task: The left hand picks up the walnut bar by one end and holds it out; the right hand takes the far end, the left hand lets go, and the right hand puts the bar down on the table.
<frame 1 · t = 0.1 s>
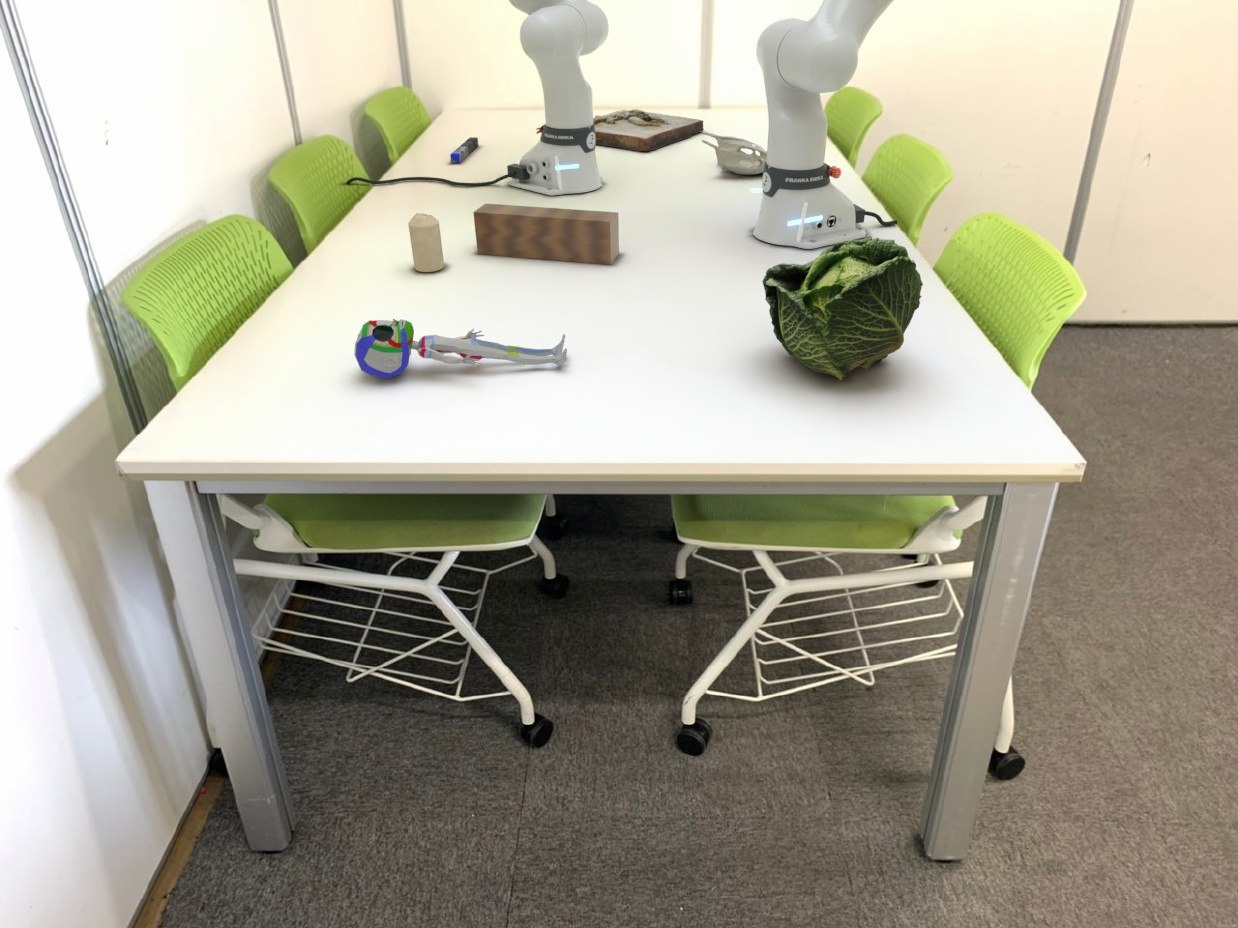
plaque: (633, 136, 259), on the table
candle: (429, 268, 168), on the table
vegetable: (836, 364, 131), on the table
toy: (464, 369, 132), on the table
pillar: (465, 155, 243), on the table
bar: (548, 254, 174), on the table
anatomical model: (751, 172, 223), on the table
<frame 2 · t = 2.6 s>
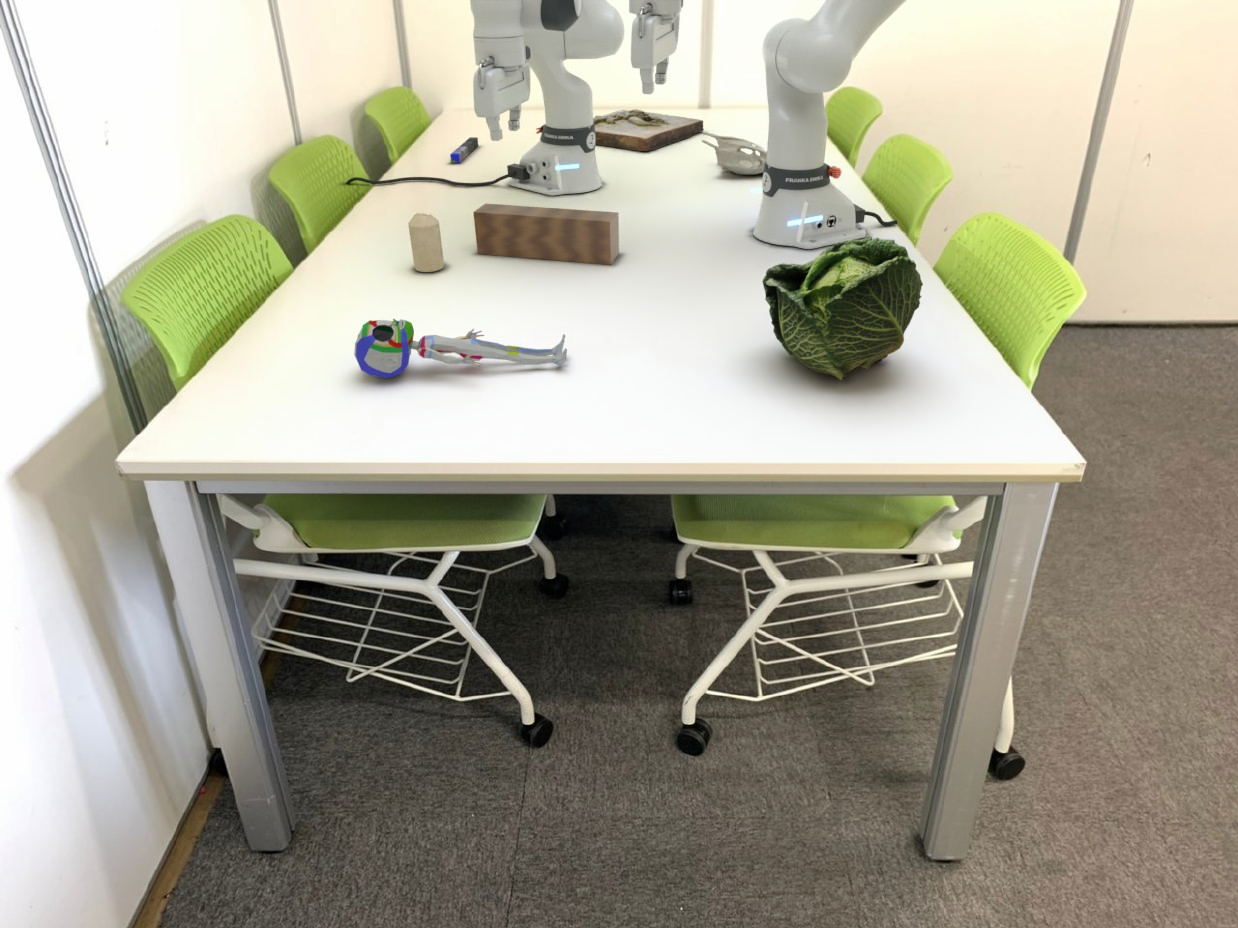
left hand: (505, 135, 166), 21 cm above the table, tool pointing down, fingers open, 8 cm apart
right hand: (654, 88, 158), 30 cm above the table, tool pointing down, fingers open, 8 cm apart
nothing on the table moved.
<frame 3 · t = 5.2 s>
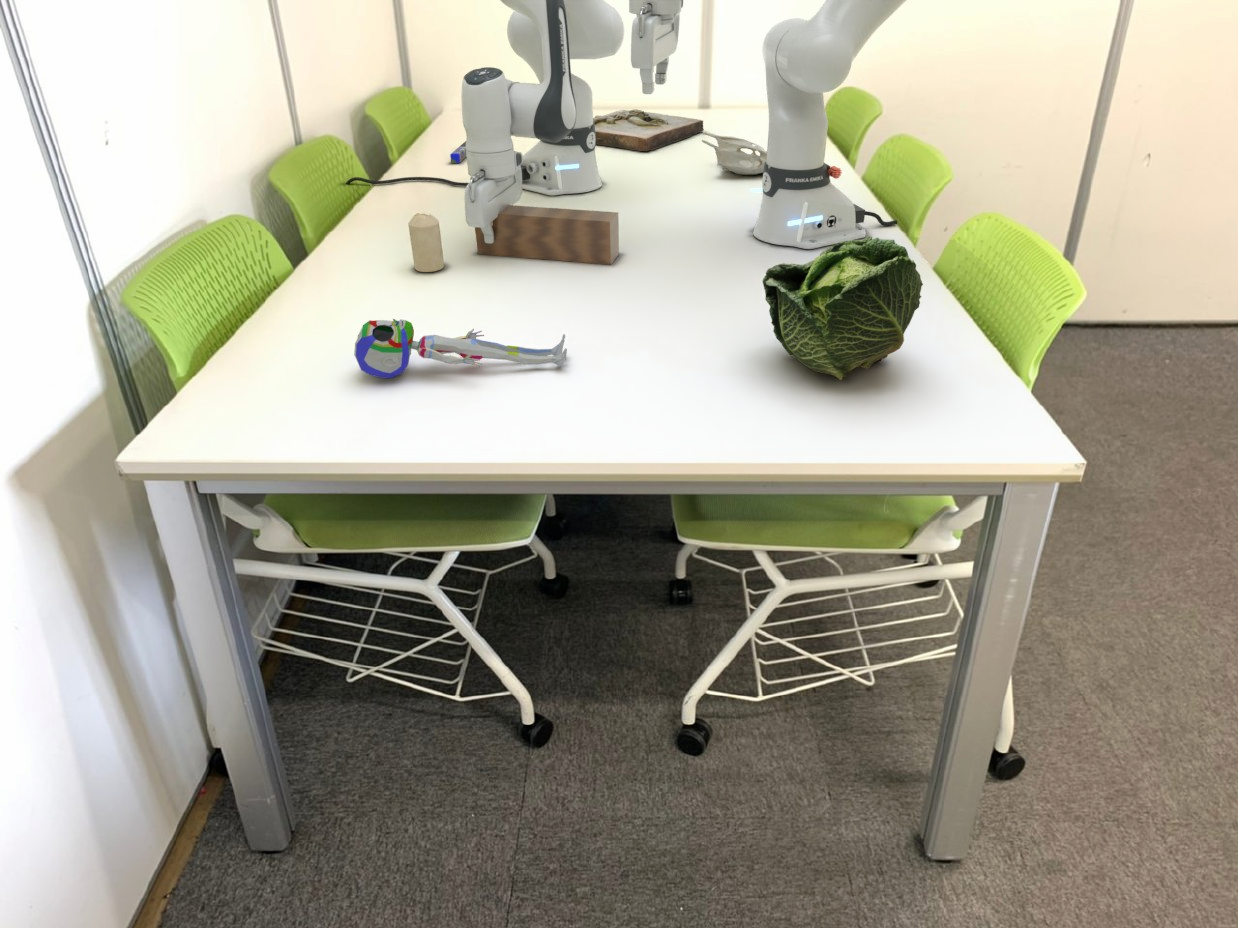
left hand: (497, 236, 175), 3 cm above the table, tool pointing down, fingers closed on bar, 6 cm apart
right hand: (654, 88, 158), 30 cm above the table, tool pointing down, fingers open, 8 cm apart
bar: (547, 254, 174), on the table, touching left hand
everything else where it was.
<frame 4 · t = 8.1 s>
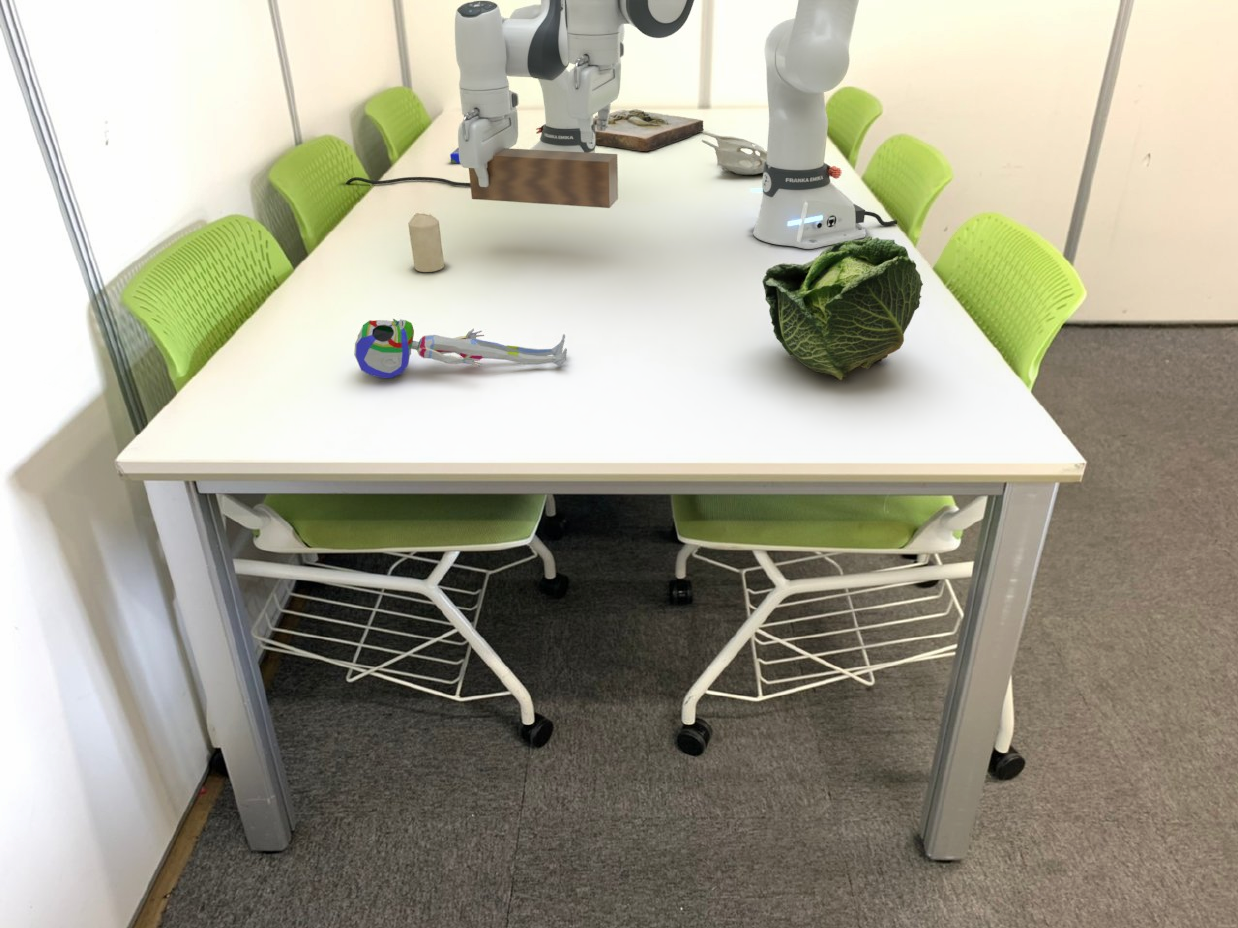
left hand: (492, 180, 169), 13 cm above the table, tool pointing down, fingers closed on bar, 6 cm apart
right hand: (594, 135, 159), 23 cm above the table, tool pointing down, fingers open, 8 cm apart
bar: (544, 199, 168), point 11 cm above the table, touching left hand
everything else where it was.
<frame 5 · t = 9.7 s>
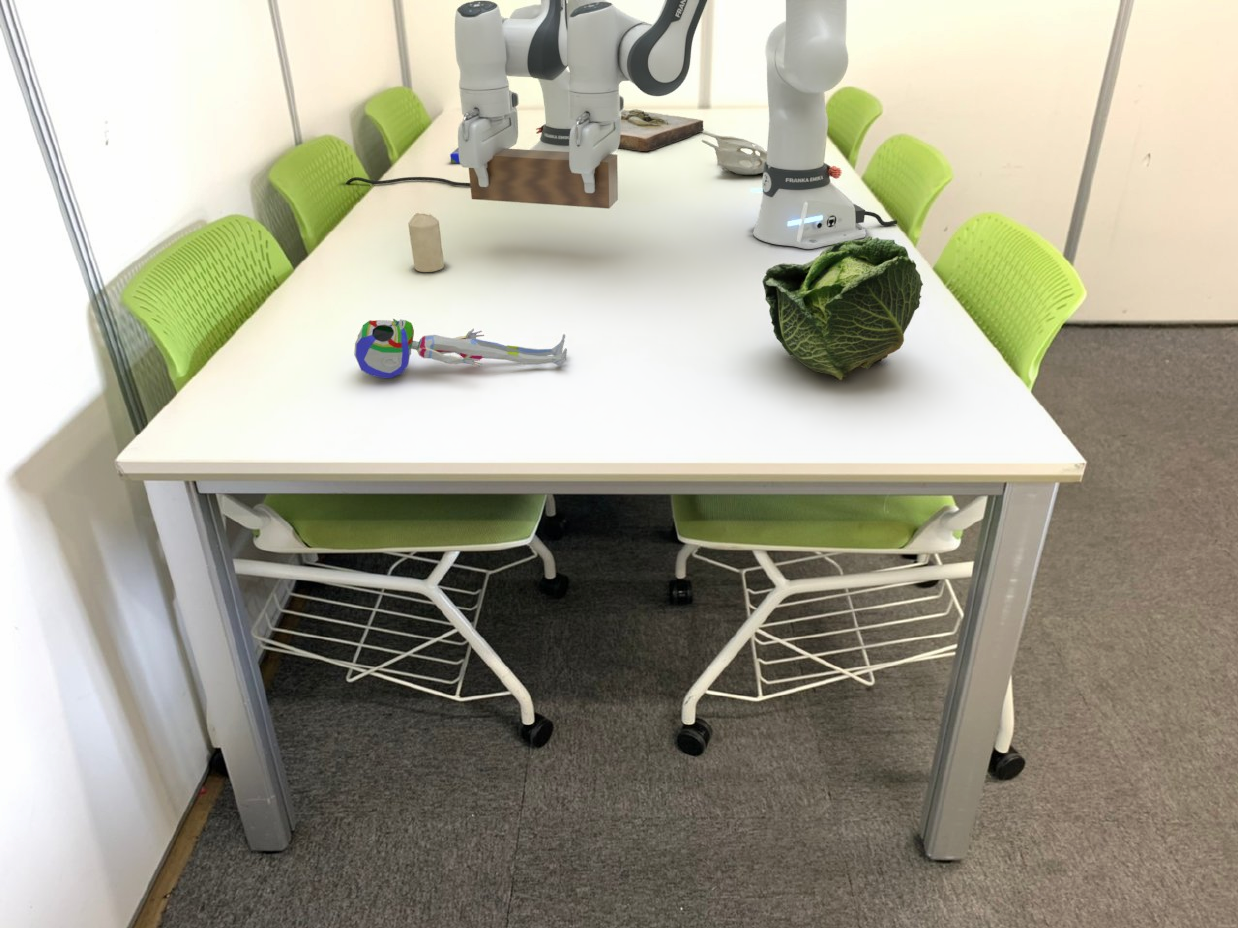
left hand: (492, 180, 169), 14 cm above the table, tool pointing down, fingers closed on bar, 6 cm apart
right hand: (596, 186, 164), 14 cm above the table, tool pointing down, fingers closed on bar, 6 cm apart
bar: (544, 199, 168), point 11 cm above the table, touching left hand, right hand
everything else where it was.
when the left hand's fingers open (14 cm above the table, at t = 10.9 s): bar moves 1 cm, held by the right hand.
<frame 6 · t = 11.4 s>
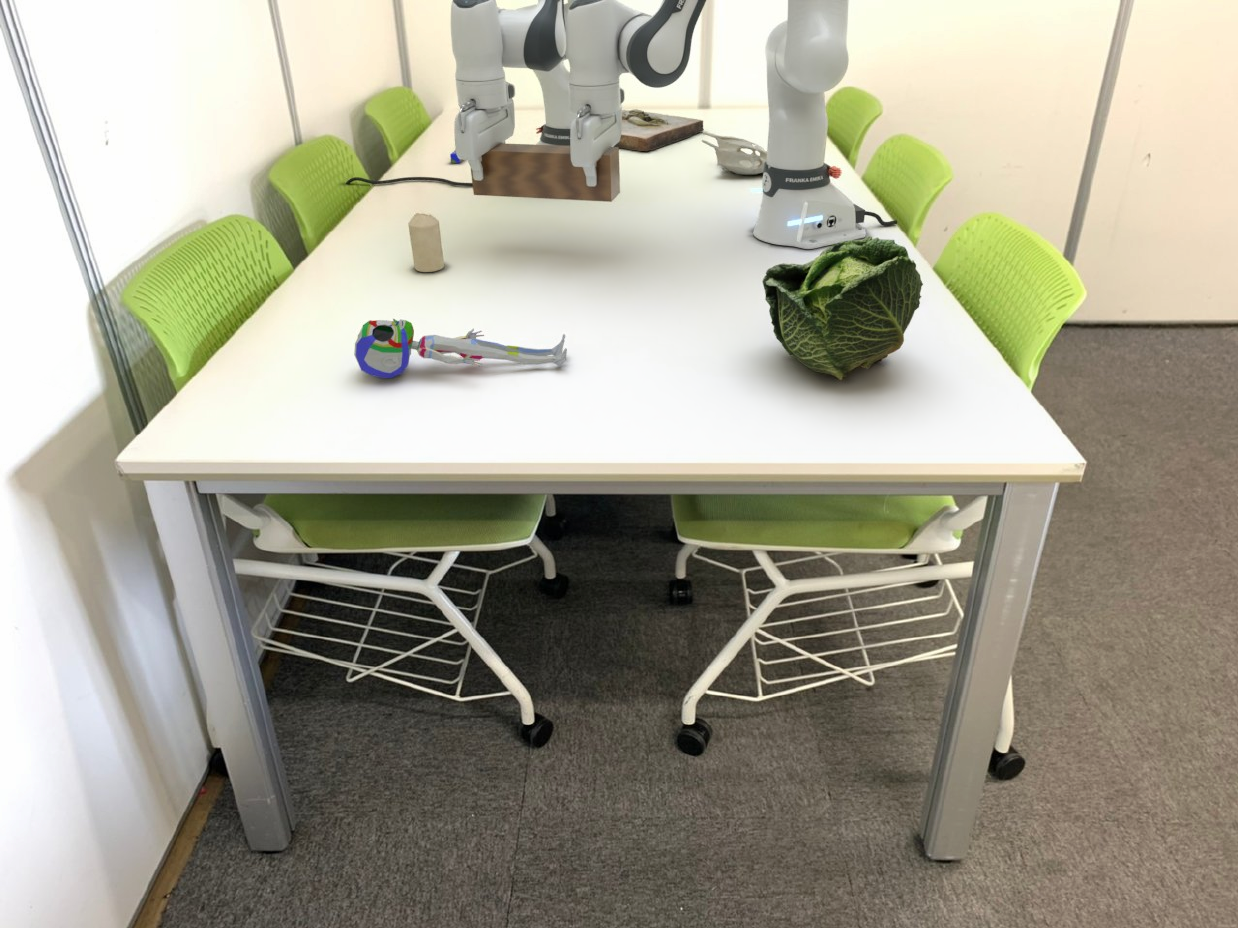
left hand: (489, 172, 169), 15 cm above the table, tool pointing down, fingers open, 8 cm apart
right hand: (598, 180, 164), 15 cm above the table, tool pointing down, fingers closed on bar, 6 cm apart
bar: (546, 194, 168), point 12 cm above the table, touching right hand
everything else where it was.
when the right hand's fingers open (4 cm above the table, at t = 15.3 s): bar stays where it is, on the table.
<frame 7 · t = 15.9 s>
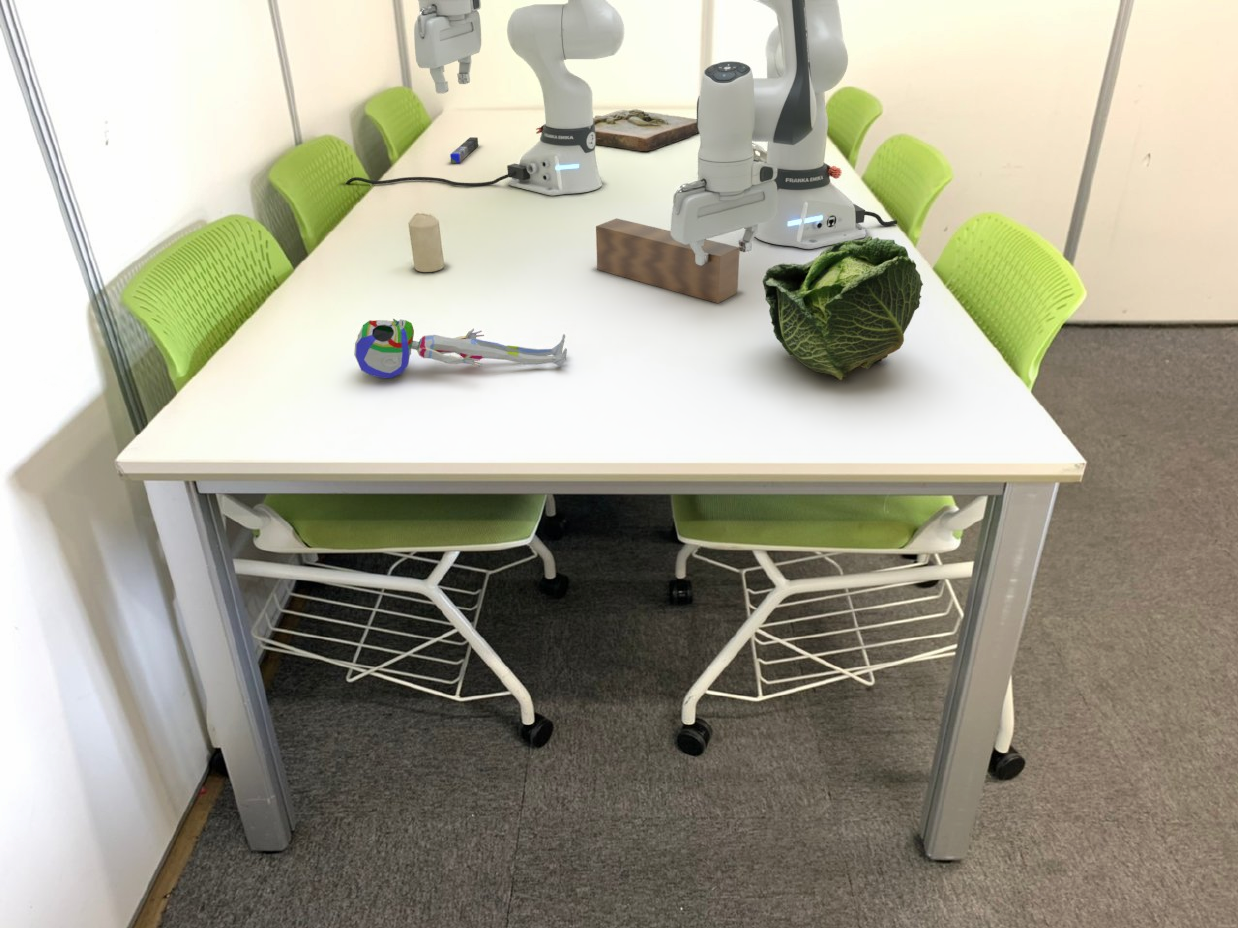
left hand: (453, 88, 162), 30 cm above the table, tool pointing down, fingers open, 8 cm apart
right hand: (723, 257, 151), 7 cm above the table, tool pointing down, fingers open, 8 cm apart
bar: (664, 281, 161), on the table, touching right hand
everything else where it was.
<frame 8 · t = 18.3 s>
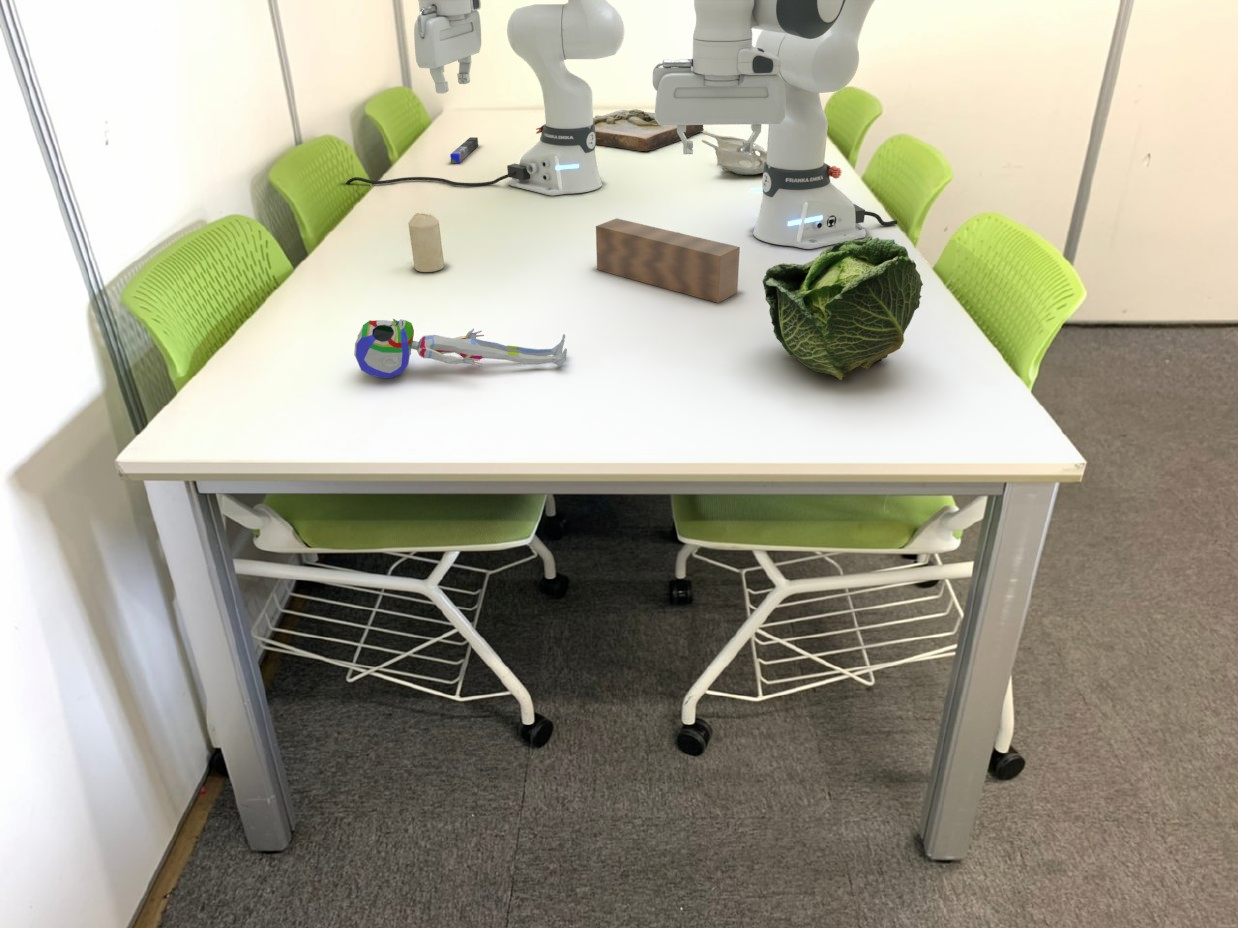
left hand: (453, 88, 162), 30 cm above the table, tool pointing down, fingers open, 8 cm apart
right hand: (717, 153, 143), 24 cm above the table, tool pointing down, fingers open, 8 cm apart
bar: (664, 281, 161), on the table
everything else where it was.
at the end: bar inside the target area (10.2 cm from its centre), on the table; the left hand is holding nothing; the right hand is holding nothing; bar at rest at the end (0.0 cm/s) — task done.
